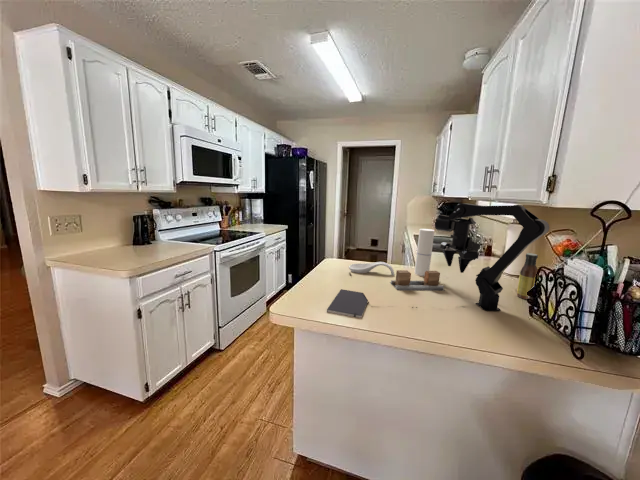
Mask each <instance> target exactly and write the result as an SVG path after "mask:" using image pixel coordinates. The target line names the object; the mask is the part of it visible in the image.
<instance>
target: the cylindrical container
mask: <svg viewBox="0 0 640 480" xmlns="http://www.w3.org/2000/svg"><path fill="white" fill-rule="evenodd" d="M435 230H436V229H431V228H419V231H418V241H417V248H416V256H415V257H416V258H415V265H414V275H416V276H420V277H424V276H425V272H426V271H431V269H430V268H431V260H432V253H433V246H434V236H435Z"/></svg>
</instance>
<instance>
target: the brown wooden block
mask: <svg viewBox="0 0 640 480" xmlns="http://www.w3.org/2000/svg"><path fill="white" fill-rule="evenodd" d="M440 276H441V272H440V271H438V270H429V271H426V272H425V276H423V278H424V279H423V281H424V285H440V284H439V283H440V278H441V277H440Z"/></svg>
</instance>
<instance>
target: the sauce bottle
mask: <svg viewBox="0 0 640 480" xmlns="http://www.w3.org/2000/svg"><path fill="white" fill-rule="evenodd" d="M538 256H539V255H538V254H536V253H531V252H529V253H528V252H527V253H526V254H525V261H524V265H523V266H522V268H521V269H520V271H519V276H518V277H519V278H518V284H517V288H516V289H517V290H516V294H517V297H518V298H520V299H523V300H527V299H528V295H527V292H528V291H529V290H530V289H531V288H532V287H533V286H534V283H535V277H536V274H537V271H538V272H539V270H538V266H537V259H538V258H539V257H538ZM537 275H538V274H537Z"/></svg>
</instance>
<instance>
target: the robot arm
mask: <svg viewBox="0 0 640 480" xmlns="http://www.w3.org/2000/svg"><path fill="white" fill-rule="evenodd" d="M477 216H512V217H514V218H515V220H516V221H517V222H518V223H519V225H520V226H522V229H521V231H520V233H519V235H518V237H517V239H516V240H515V241H514V242H513V243H512V245H511V246H509V247H508V249H507V250H506V251H505V252H504V253H503V254H501V256H500V257H499V258H498V259H497V261H496V262H495V263H494V264H493V265H491V266H485V267H483V268H482V269H481V270H480V272H479V273H478V274H476V275H475V276H476V278H475V285H476V287H477V288H478V291H479V297H478V302H475V305H476V306H477V307H479V308H481V309H482V310H484V311H486V312H492V311H493V312H499V311H500V312H501V310H502V309H501V308H499V307H498V306H499V299H500V295H499V293H501V292H502V291H503V290H504V287H502V285H501V284H500V282H499V280H500V279H501V277H502V274H503V273H504V271H505V270H506V269H508V267H509V266H511V264H512V263H514V261H515V260H516V259H518V257H519V256H520V255H521V254H522V253H523V252H524V251H525V250H526V249H527V248H528V247H529V246H530V245H531V244H532V243H534V242H536V241H537V240H539V239H540V238H541V237H542V236H544V235H546V234H547V233H548V232H549V231H550V224H549V223H548V221H547V220H544V219H542V218H541V219H540V218H539V217H538V216H536V215H535V214H534V213H532V212H531V211H530V210H528V209H527V208H526V207H525V205H522V204H514V205H479V204H475V203H474V204H473V203H466V202H465V203H458V204H457V205H456V206H455V207H454V209H453V211H452V212H451V213H450V214H449V215H445V214H438V218H437V219H436V221H435V222H434V227H435V230H437V231H444V232H449V233H450V232H452V231H453V233H452V234H450V238H452V239H451V241H442V242H440V246H439V248H440V249H441V251H442V253H443V255H444V259H445V261H446V263H447V266H448V267H452V264H453V259H454V256H455V254H456V253H458V255H459V256H458V267H459V273H460V274H462V273H463V274H464V272H465V270H466V269H467V267H468V265H469V264H470V263H471V262H472V261H475V260H477V259H479V255H480V253H479V250H480V248H481V244H479V243H477V242H474V241H473V239H471V238H472V237H470V236H469V232H470V226H471V225H476V224H477V222H476V220H474V219H473V218H472V217H477ZM467 218H468V219H467ZM458 219H459V220H458Z"/></svg>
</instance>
